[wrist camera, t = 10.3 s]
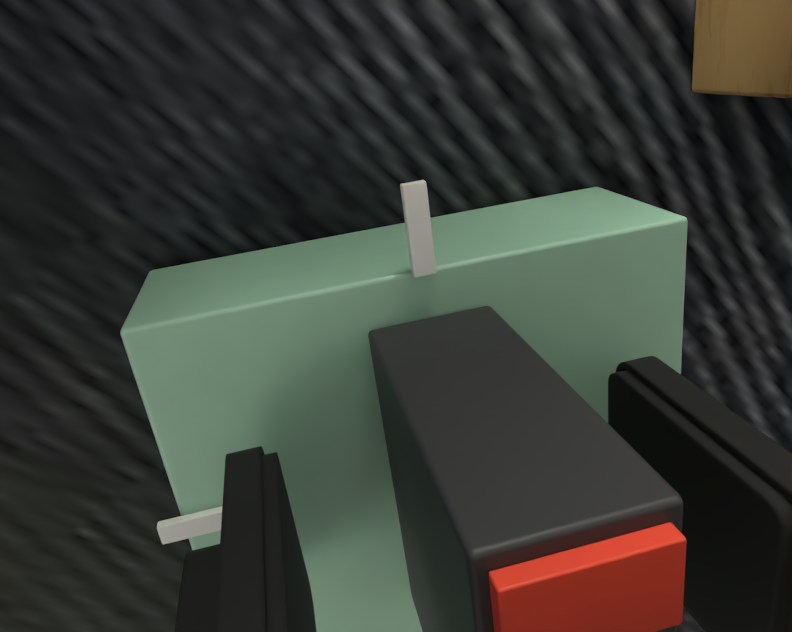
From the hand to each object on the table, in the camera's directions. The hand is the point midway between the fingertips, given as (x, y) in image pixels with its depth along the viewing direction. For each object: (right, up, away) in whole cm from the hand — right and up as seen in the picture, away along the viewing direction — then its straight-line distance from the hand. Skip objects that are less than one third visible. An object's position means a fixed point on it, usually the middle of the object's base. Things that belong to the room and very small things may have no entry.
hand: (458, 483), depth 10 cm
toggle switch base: (0, -1, +4) cm, 4 cm away
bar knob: (0, 0, +1) cm, 1 cm away
